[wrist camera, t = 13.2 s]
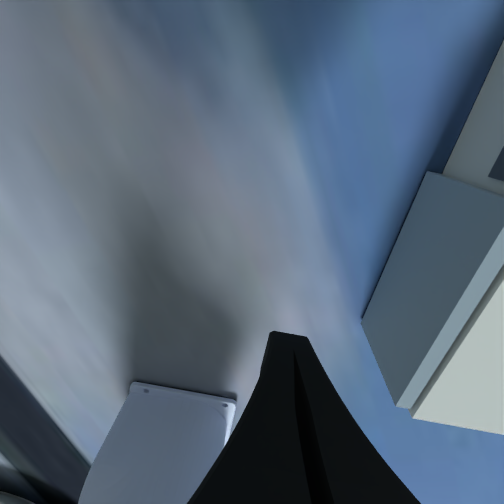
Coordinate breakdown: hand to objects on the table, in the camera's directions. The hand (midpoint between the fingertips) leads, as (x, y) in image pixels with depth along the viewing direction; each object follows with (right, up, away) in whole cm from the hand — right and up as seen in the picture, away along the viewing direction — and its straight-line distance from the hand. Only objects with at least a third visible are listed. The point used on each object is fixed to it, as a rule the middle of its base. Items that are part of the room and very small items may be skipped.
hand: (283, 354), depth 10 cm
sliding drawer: (+14, +2, +8) cm, 16 cm away
